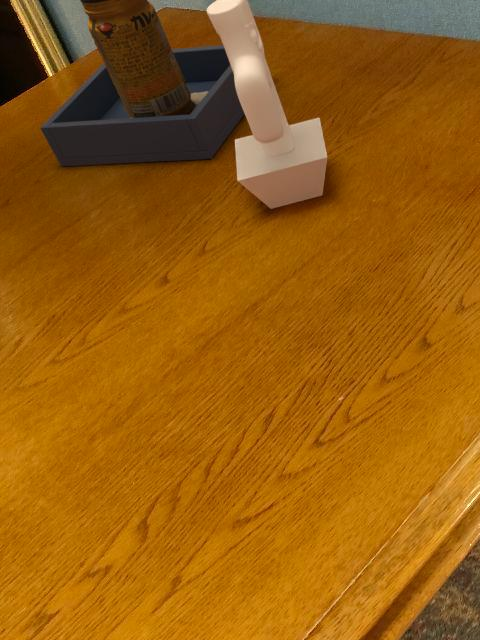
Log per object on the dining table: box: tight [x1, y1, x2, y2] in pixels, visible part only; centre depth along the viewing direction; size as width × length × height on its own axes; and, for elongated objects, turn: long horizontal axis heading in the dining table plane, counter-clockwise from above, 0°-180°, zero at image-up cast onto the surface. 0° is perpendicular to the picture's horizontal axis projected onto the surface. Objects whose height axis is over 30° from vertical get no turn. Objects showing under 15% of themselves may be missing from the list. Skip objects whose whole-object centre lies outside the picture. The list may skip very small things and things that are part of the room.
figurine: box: [206, 0, 328, 210], centre depth 78 cm, size 7×9×15 cm
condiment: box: [80, 0, 208, 118], centre depth 90 cm, size 7×8×12 cm
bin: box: [39, 44, 245, 167], centre depth 94 cm, size 16×15×4 cm
